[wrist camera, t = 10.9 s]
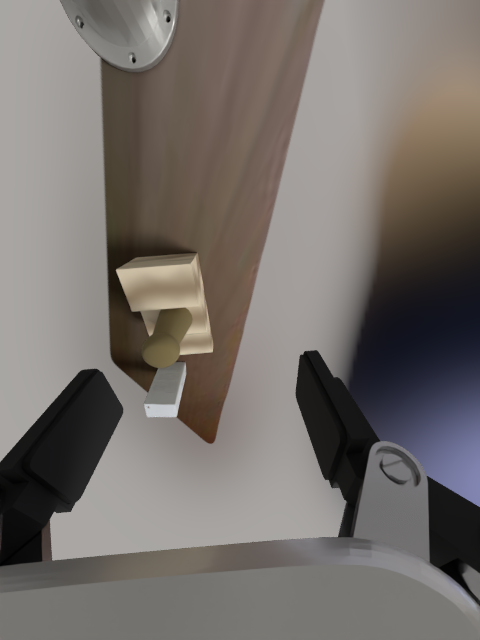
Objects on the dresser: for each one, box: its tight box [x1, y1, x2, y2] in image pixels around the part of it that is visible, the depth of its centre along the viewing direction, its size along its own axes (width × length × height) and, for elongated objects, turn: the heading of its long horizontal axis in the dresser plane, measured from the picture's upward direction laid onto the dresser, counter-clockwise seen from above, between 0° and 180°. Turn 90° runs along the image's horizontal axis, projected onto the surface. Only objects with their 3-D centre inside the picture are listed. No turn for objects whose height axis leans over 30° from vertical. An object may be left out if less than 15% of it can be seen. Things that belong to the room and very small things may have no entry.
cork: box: [141, 307, 193, 368], centre depth 32 cm, size 6×6×11 cm
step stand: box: [116, 253, 213, 355], centre depth 38 cm, size 21×11×8 cm, turn 4°
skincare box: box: [144, 362, 186, 417], centre depth 44 cm, size 6×4×12 cm
